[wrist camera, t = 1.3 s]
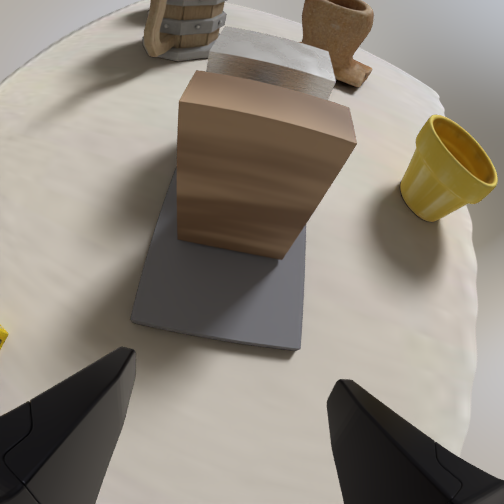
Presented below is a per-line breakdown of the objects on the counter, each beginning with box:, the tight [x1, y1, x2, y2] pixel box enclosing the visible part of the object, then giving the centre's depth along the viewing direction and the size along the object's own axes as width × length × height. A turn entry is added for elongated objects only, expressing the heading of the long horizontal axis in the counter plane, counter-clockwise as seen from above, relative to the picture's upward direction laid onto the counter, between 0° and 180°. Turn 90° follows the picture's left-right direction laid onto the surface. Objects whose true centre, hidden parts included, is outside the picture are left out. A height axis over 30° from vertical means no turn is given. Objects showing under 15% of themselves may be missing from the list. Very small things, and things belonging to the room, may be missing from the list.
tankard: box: [142, 0, 227, 61], centre depth 31 cm, size 20×13×15 cm, turn 161°
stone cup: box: [299, 0, 374, 87], centre depth 36 cm, size 15×12×15 cm
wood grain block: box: [177, 70, 357, 260], centre depth 20 cm, size 13×8×12 cm, turn 174°
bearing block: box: [206, 26, 336, 100], centre depth 24 cm, size 6×9×11 cm, turn 84°
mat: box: [131, 166, 306, 351], centre depth 26 cm, size 25×12×1 cm, turn 174°
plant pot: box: [400, 115, 498, 222], centre depth 28 cm, size 10×10×10 cm
